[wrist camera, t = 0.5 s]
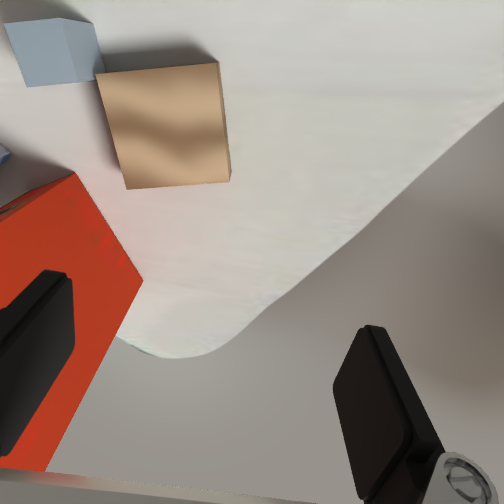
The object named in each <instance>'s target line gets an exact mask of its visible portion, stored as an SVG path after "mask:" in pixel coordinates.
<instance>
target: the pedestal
mask: <svg viewBox="0 0 504 504" xmlns="http://www.w3.org/2000/svg"><path fill="white" fill-rule="evenodd" d="M95 75H96V79H97V82H98V86H99V90H100V93H101V97H102V101H103V104H104V108H105V112H106V115H107V119H108V123H109V126H110V130H111V134H112V137H113V141H114V145H115V148H116V152H117V156H118V159H119V163H120V167H121V170H122V174H123V178H124V181H125V185H126V189H127V190H130V189H143V188H156V187H170V186H183V185H196V184H210V183H223V182H229V181H230V176H231V172H232V171H231V162H230V153H229V144H228V136H227V127H226V118H225V109H224V100H223V92H222V83H221V74H220V65H219V62H215V63H204V64H194V65H183V66H173V67H162V68H151V69H141V70H130V71H119V72H109V73H101V74H95Z"/></svg>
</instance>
